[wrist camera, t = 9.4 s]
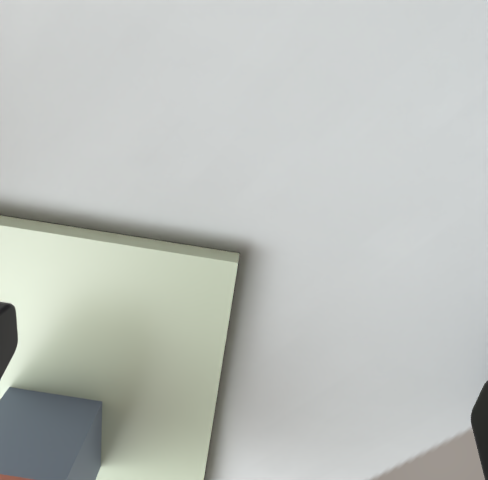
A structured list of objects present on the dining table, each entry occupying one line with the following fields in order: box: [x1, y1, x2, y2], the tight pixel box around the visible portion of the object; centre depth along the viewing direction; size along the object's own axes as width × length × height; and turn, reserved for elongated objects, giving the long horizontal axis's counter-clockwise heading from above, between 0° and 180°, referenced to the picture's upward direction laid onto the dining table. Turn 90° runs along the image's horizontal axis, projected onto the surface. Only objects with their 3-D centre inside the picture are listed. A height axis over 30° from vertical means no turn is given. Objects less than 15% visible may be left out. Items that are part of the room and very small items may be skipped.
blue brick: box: [0, 387, 102, 480], centre depth 24 cm, size 5×5×5 cm
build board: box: [0, 215, 240, 480], centre depth 25 cm, size 13×16×1 cm
